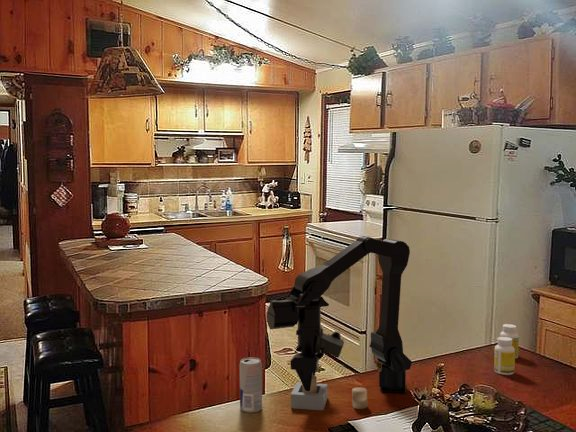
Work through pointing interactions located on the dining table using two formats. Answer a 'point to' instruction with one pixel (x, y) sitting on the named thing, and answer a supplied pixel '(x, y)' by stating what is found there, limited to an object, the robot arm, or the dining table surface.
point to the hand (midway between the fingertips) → (309, 386)
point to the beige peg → (313, 386)
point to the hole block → (309, 398)
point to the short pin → (359, 398)
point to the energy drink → (250, 385)
